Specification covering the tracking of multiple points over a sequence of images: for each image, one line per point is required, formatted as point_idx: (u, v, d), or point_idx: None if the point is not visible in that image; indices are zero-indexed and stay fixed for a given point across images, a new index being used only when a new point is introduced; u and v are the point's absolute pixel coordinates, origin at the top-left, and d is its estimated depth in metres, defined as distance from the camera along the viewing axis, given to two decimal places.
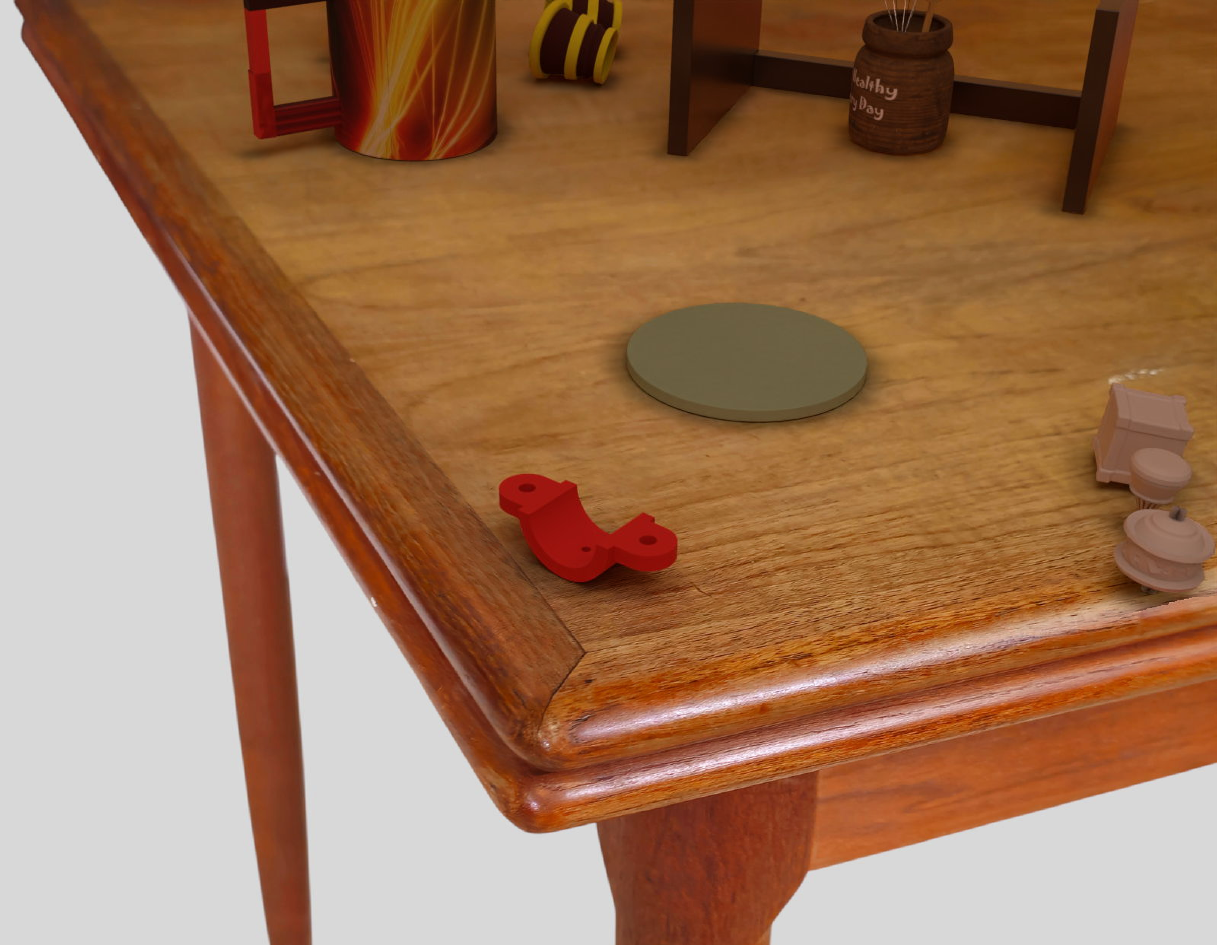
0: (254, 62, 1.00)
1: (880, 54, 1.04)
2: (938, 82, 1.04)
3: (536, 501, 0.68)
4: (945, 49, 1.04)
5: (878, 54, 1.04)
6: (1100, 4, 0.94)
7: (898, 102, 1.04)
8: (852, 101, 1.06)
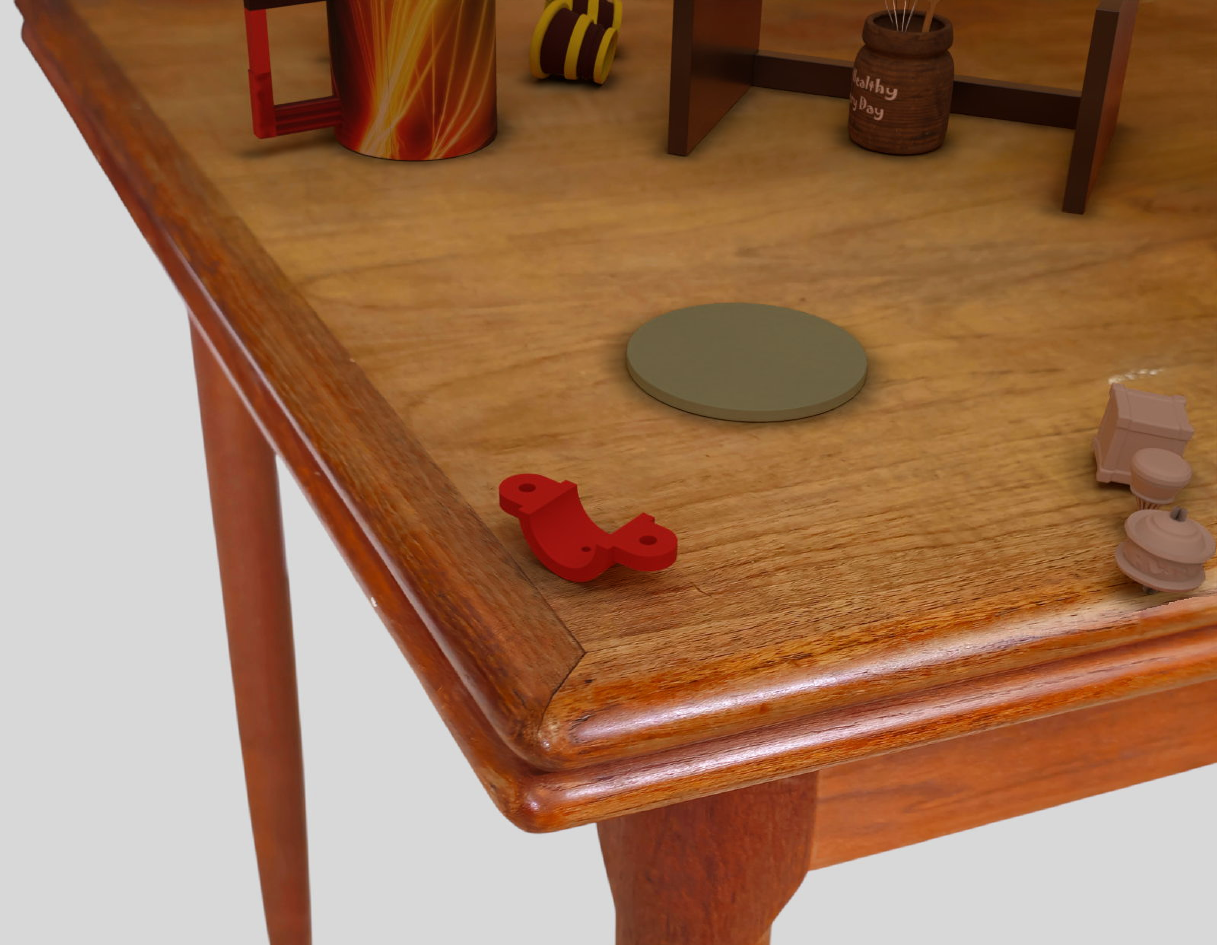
0: (254, 62, 1.00)
1: (880, 54, 1.04)
2: (938, 82, 1.04)
3: (536, 501, 0.68)
4: (945, 49, 1.04)
5: (879, 54, 1.04)
6: (1100, 4, 0.94)
7: (898, 102, 1.04)
8: (852, 101, 1.06)
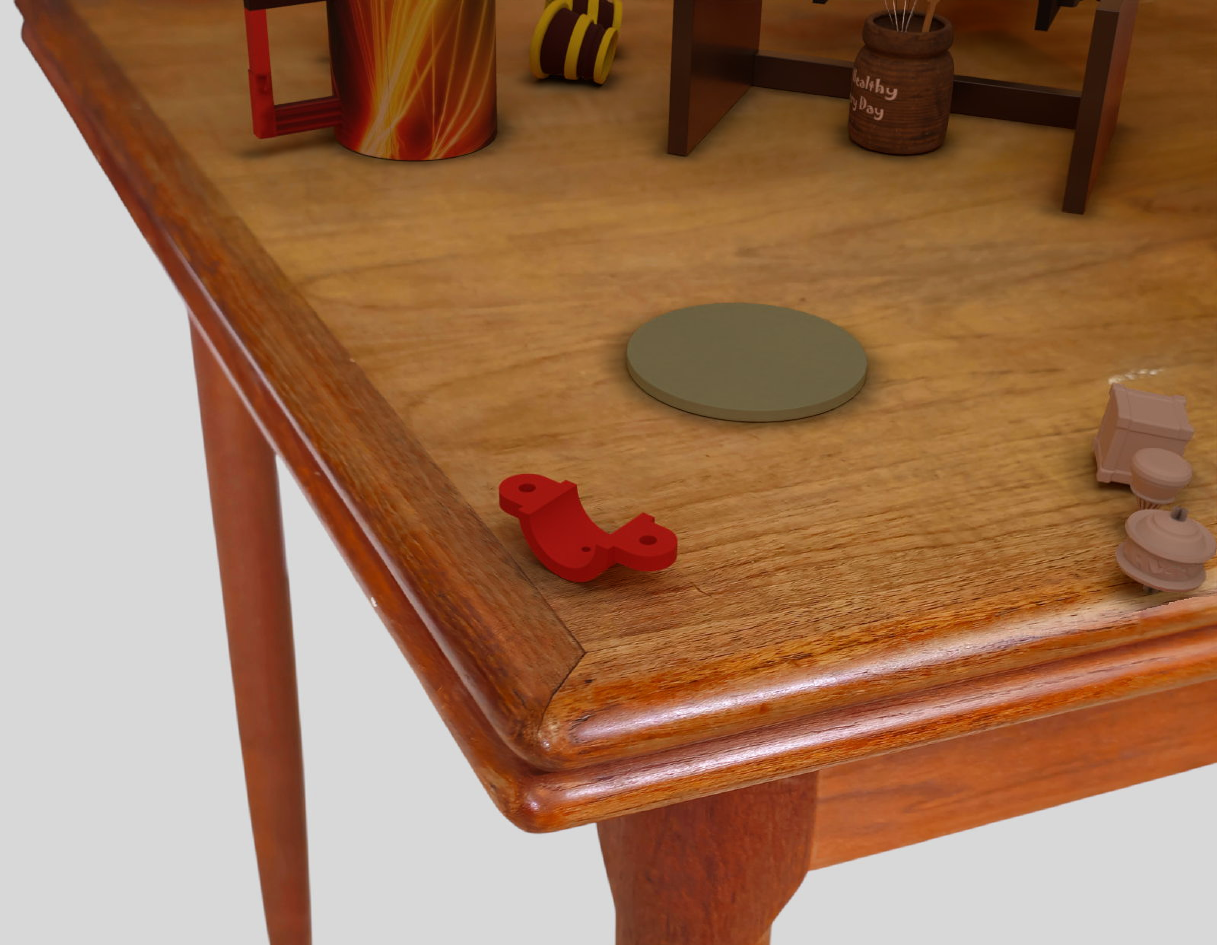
0: (254, 62, 1.00)
1: (880, 54, 1.04)
2: (938, 82, 1.04)
3: (536, 501, 0.68)
4: (945, 49, 1.04)
5: (879, 54, 1.04)
6: (1100, 4, 0.94)
7: (898, 102, 1.04)
8: (852, 101, 1.06)
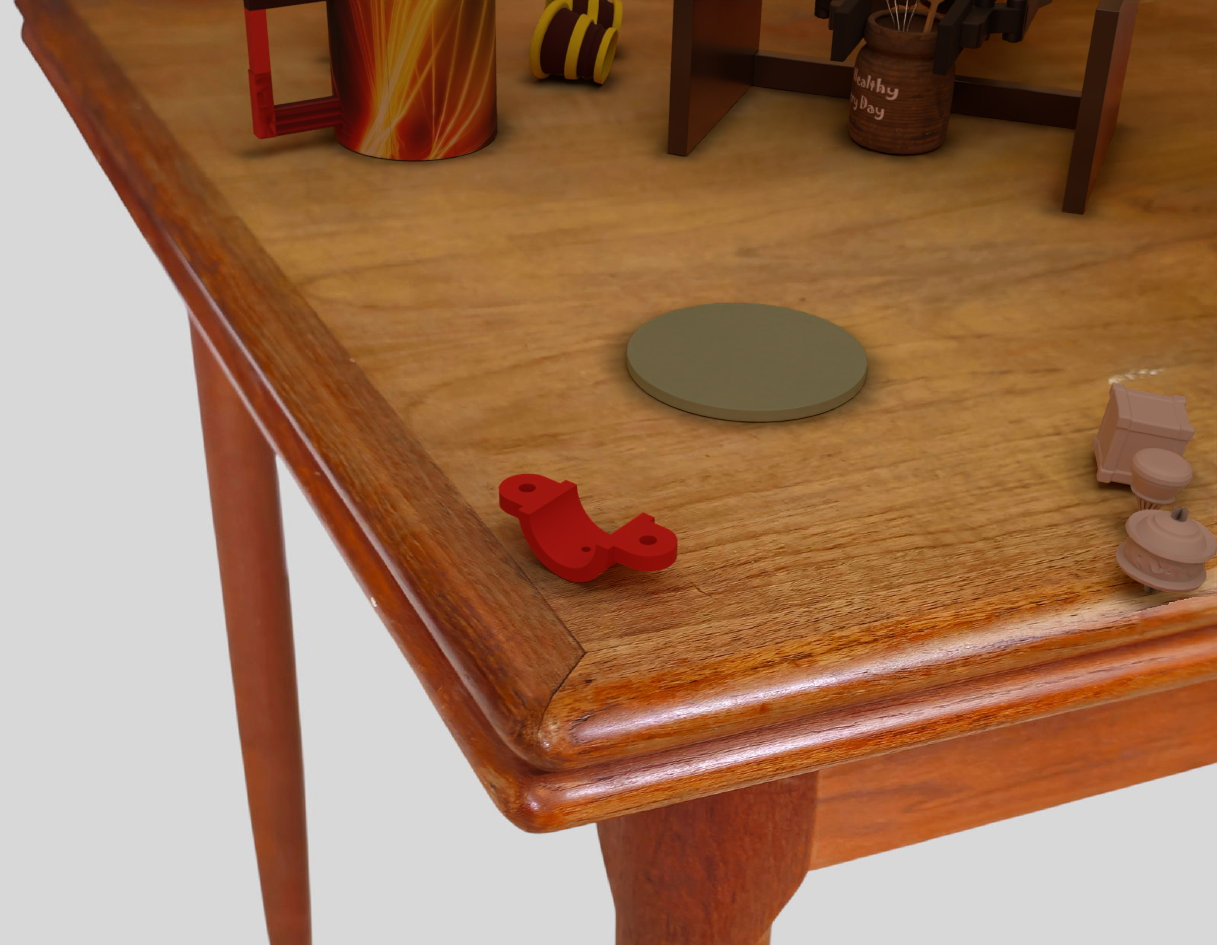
0: (254, 62, 1.00)
1: (881, 53, 1.04)
2: (939, 83, 1.04)
3: (536, 501, 0.68)
4: None
5: (880, 53, 1.04)
6: (1100, 4, 0.94)
7: (899, 102, 1.04)
8: (853, 101, 1.06)
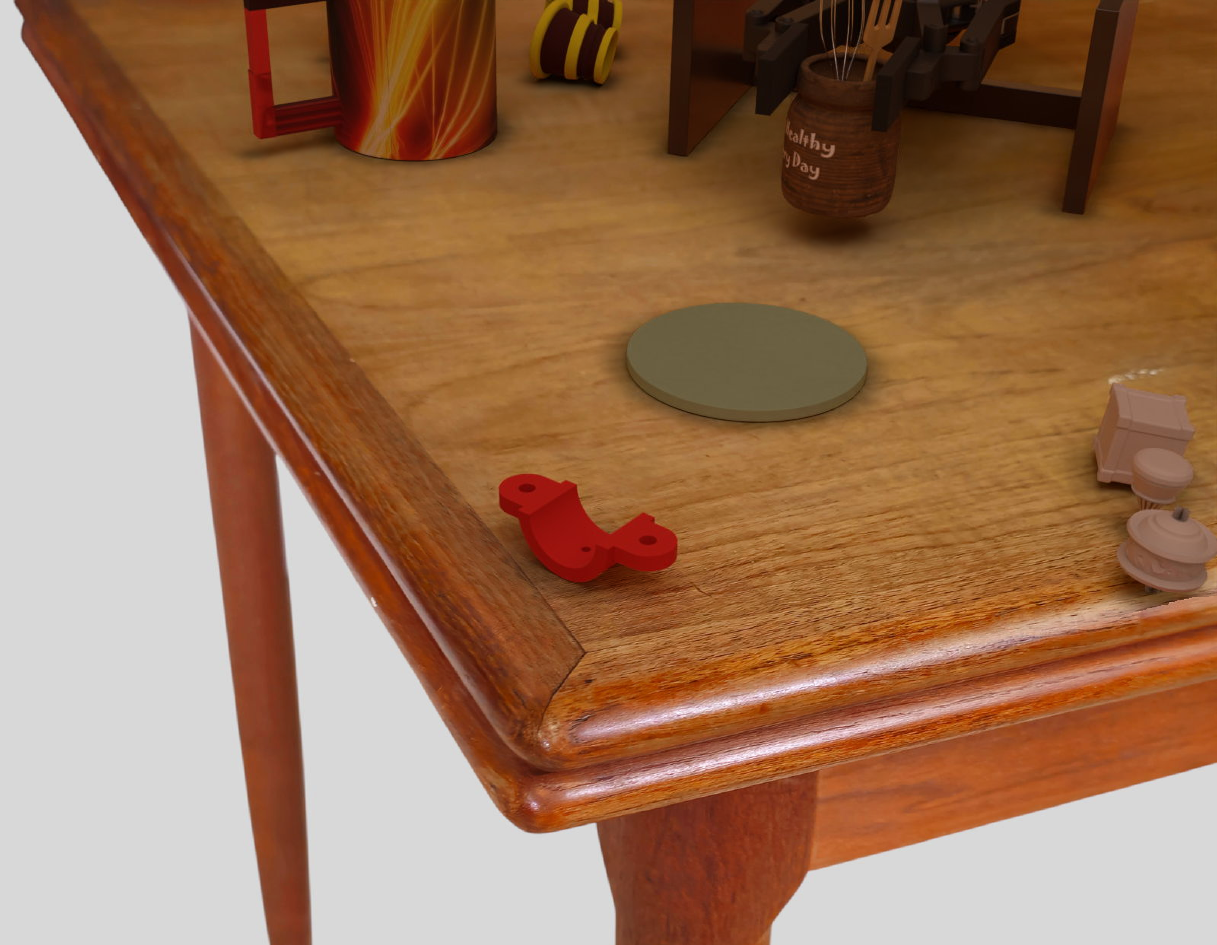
0: (254, 62, 1.00)
1: (816, 104, 0.91)
2: (882, 138, 0.91)
3: (536, 501, 0.68)
4: None
5: (814, 105, 0.91)
6: (1100, 4, 0.94)
7: (836, 160, 0.91)
8: (785, 157, 0.93)
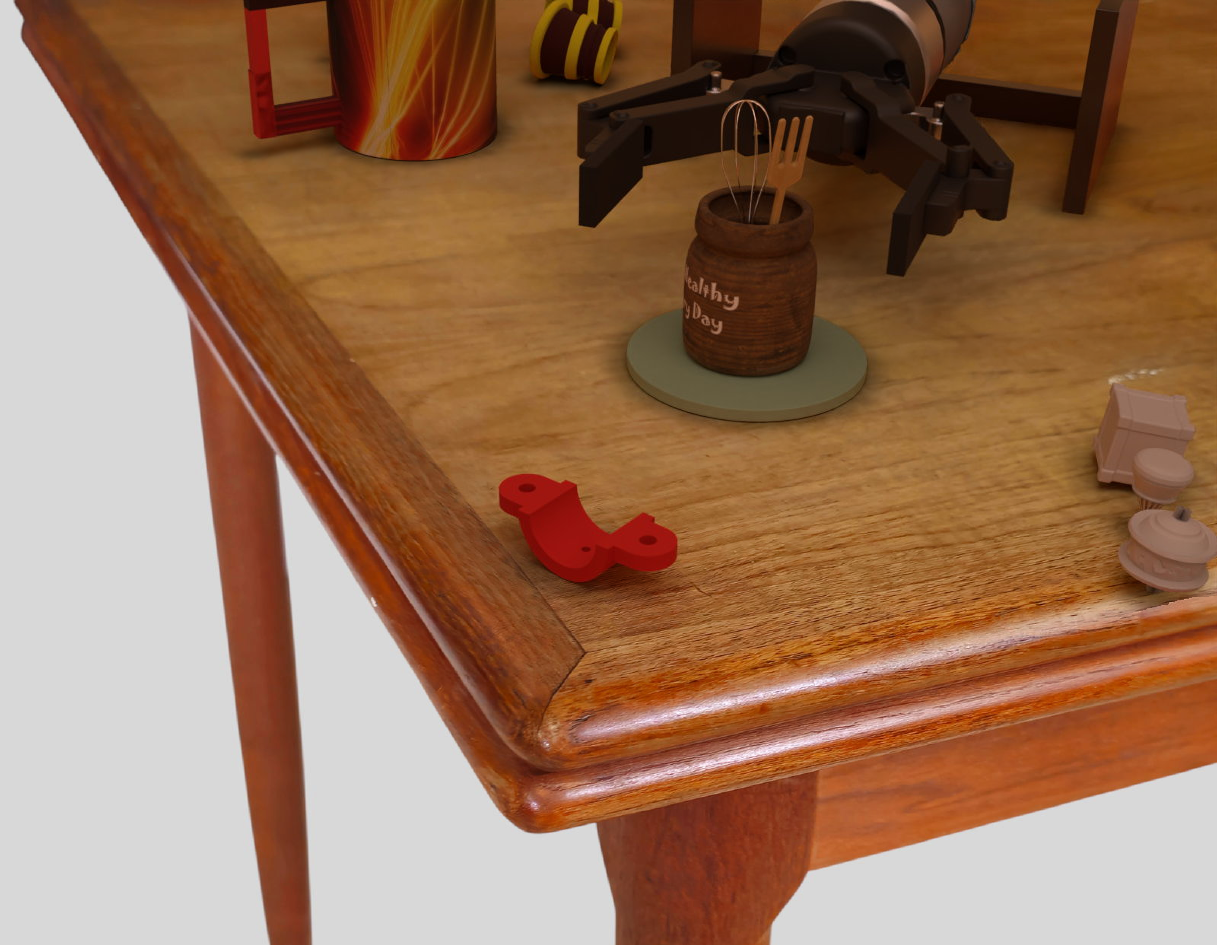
0: (254, 62, 1.00)
1: (716, 250, 0.78)
2: (793, 287, 0.79)
3: (536, 501, 0.68)
4: (802, 244, 0.78)
5: (715, 250, 0.79)
6: (1100, 4, 0.94)
7: (741, 313, 0.79)
8: (685, 306, 0.81)
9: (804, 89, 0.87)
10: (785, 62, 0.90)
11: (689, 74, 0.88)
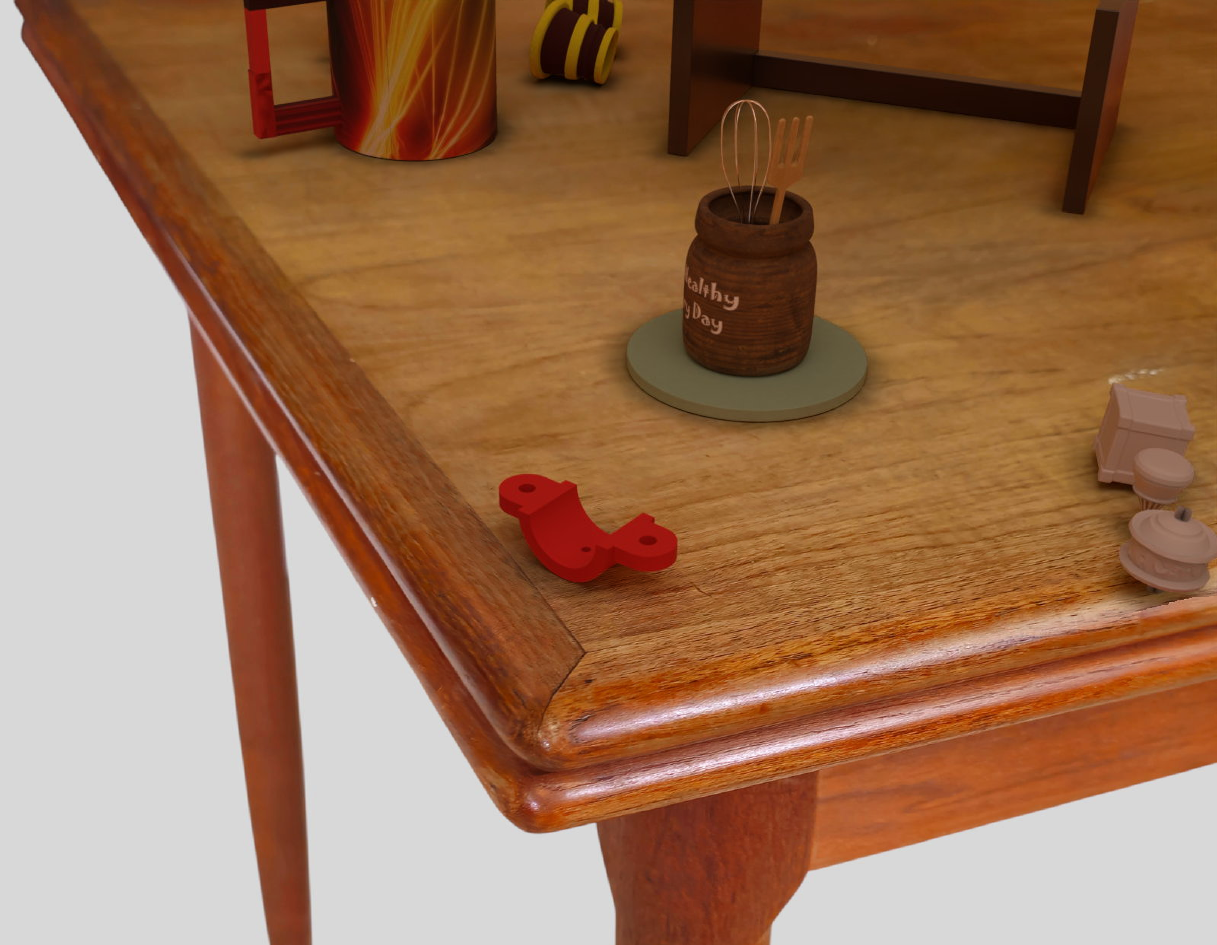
0: (254, 62, 1.00)
1: (716, 250, 0.78)
2: (793, 287, 0.79)
3: (536, 501, 0.68)
4: (802, 244, 0.78)
5: (715, 250, 0.79)
6: (1100, 4, 0.94)
7: (741, 313, 0.79)
8: (685, 306, 0.81)
9: None
10: None
11: None
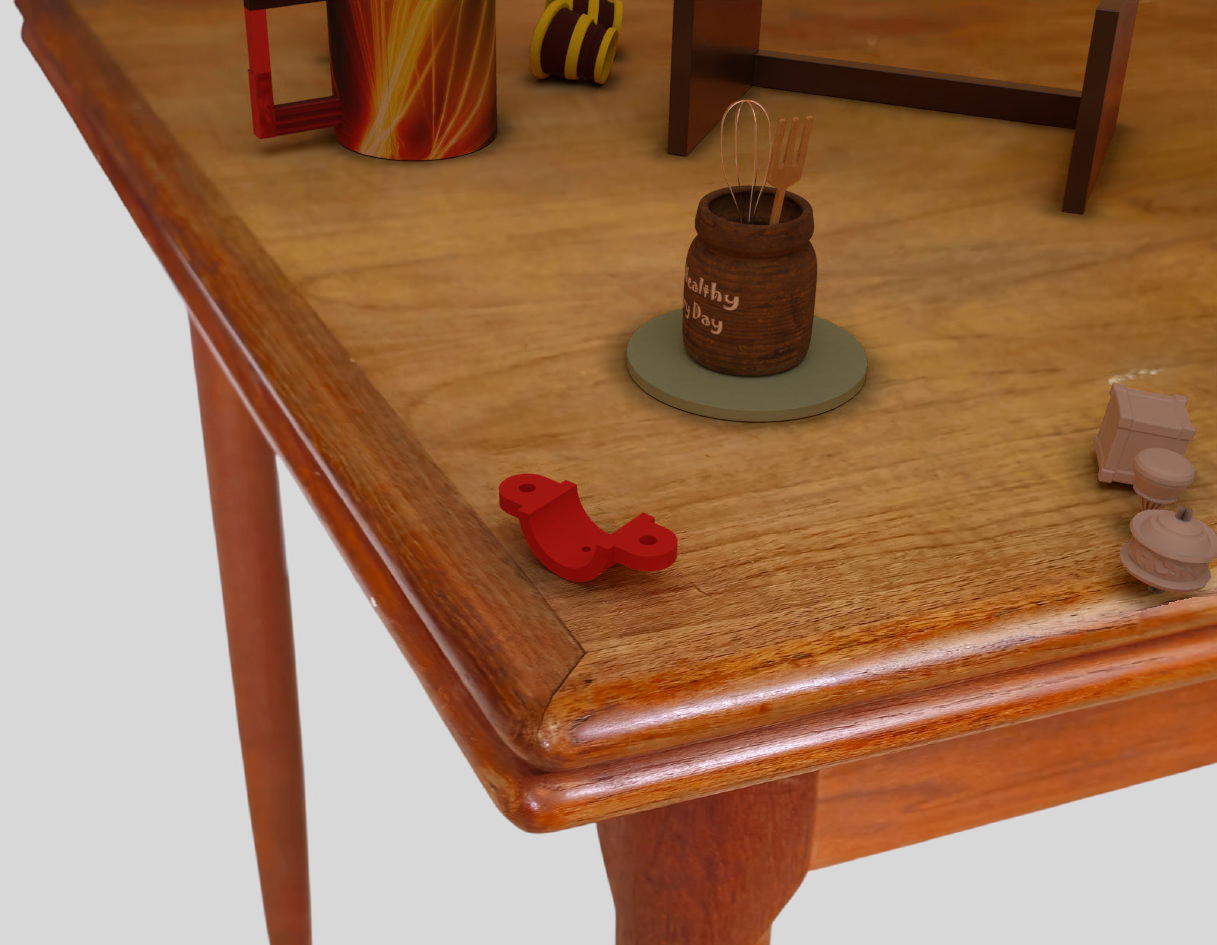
0: (254, 62, 1.00)
1: (716, 250, 0.78)
2: (793, 287, 0.79)
3: (536, 501, 0.68)
4: (802, 244, 0.78)
5: (715, 250, 0.79)
6: (1100, 4, 0.94)
7: (741, 313, 0.79)
8: (685, 306, 0.81)
9: None
10: None
11: None
